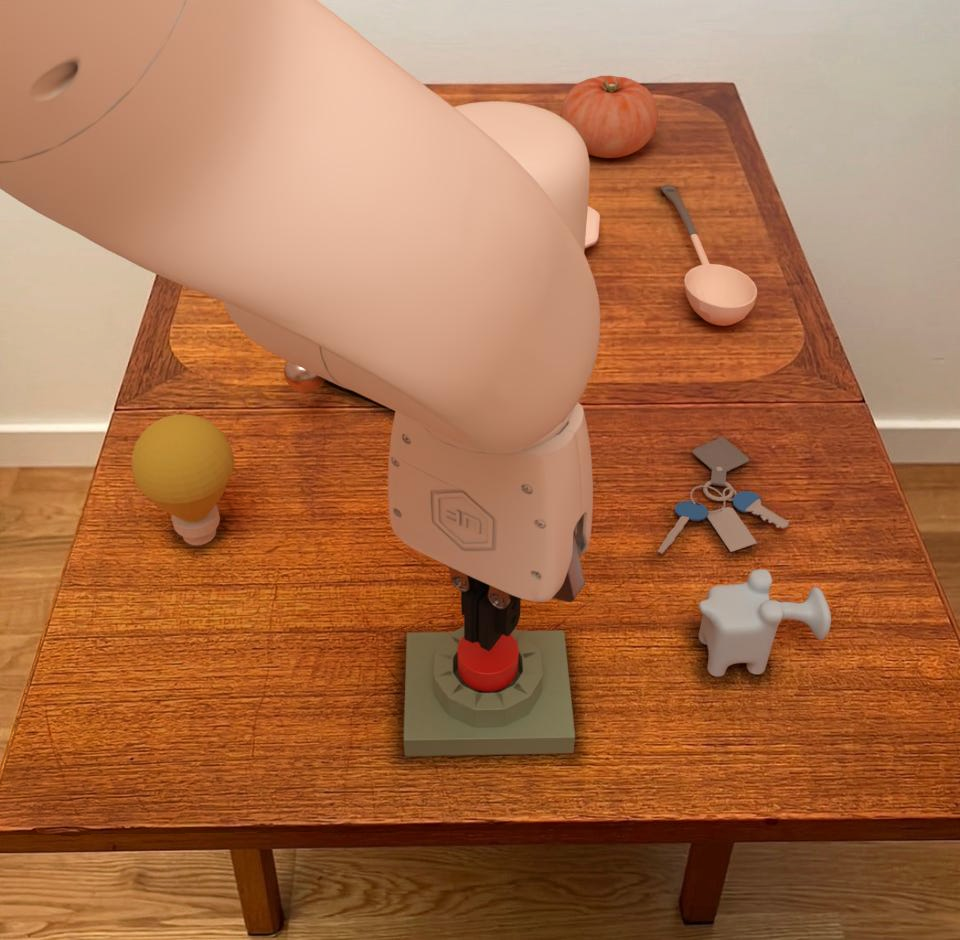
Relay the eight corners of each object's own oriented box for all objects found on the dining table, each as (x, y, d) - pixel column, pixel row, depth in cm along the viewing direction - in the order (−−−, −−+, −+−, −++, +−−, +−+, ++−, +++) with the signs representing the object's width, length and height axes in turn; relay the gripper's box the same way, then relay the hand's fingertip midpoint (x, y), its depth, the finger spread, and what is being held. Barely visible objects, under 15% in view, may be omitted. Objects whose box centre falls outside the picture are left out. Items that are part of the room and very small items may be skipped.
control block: (404, 756, 65) (402, 722, 62) (407, 649, 70) (405, 613, 68) (573, 753, 65) (577, 718, 62) (562, 646, 71) (565, 611, 68)
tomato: (589, 180, 118) (595, 108, 112) (540, 139, 125) (543, 70, 120) (673, 159, 121) (682, 89, 116) (621, 121, 129) (627, 53, 123)
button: (458, 693, 64) (457, 674, 63) (457, 644, 67) (457, 625, 66) (519, 692, 64) (520, 673, 63) (516, 643, 67) (517, 625, 66)
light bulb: (139, 565, 76) (107, 457, 69) (165, 499, 81) (137, 392, 74) (235, 570, 75) (213, 461, 69) (255, 502, 80) (236, 395, 74)
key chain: (698, 436, 86) (699, 427, 86) (803, 461, 84) (806, 453, 83) (654, 557, 76) (656, 548, 76) (773, 588, 74) (775, 580, 74)
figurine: (820, 674, 69) (842, 611, 65) (695, 681, 69) (709, 618, 65) (801, 625, 72) (821, 562, 68) (682, 632, 72) (695, 568, 68)
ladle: (695, 343, 94) (699, 291, 92) (637, 227, 118) (639, 184, 116) (765, 339, 95) (771, 287, 92) (693, 224, 118) (696, 181, 116)
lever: (319, 405, 84) (303, 385, 81) (286, 391, 85) (269, 372, 82) (401, 269, 87) (388, 246, 84) (368, 258, 88) (355, 234, 85)
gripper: (316, 368, 51) (347, 619, 64) (600, 482, 46) (574, 734, 58) (406, 292, 56) (419, 540, 69) (674, 387, 50) (635, 639, 63)
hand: (490, 628), depth 63 cm, fingers closed
